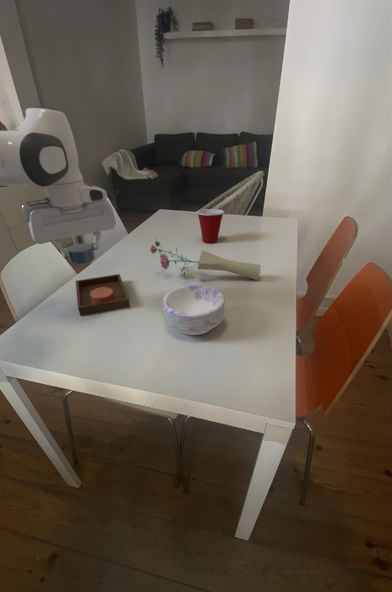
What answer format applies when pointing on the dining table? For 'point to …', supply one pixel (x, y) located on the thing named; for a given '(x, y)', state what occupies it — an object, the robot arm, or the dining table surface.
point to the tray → (93, 283)
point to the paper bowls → (193, 309)
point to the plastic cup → (210, 224)
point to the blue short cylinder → (81, 253)
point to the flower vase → (213, 263)
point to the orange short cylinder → (102, 295)
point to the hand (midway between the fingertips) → (81, 252)
